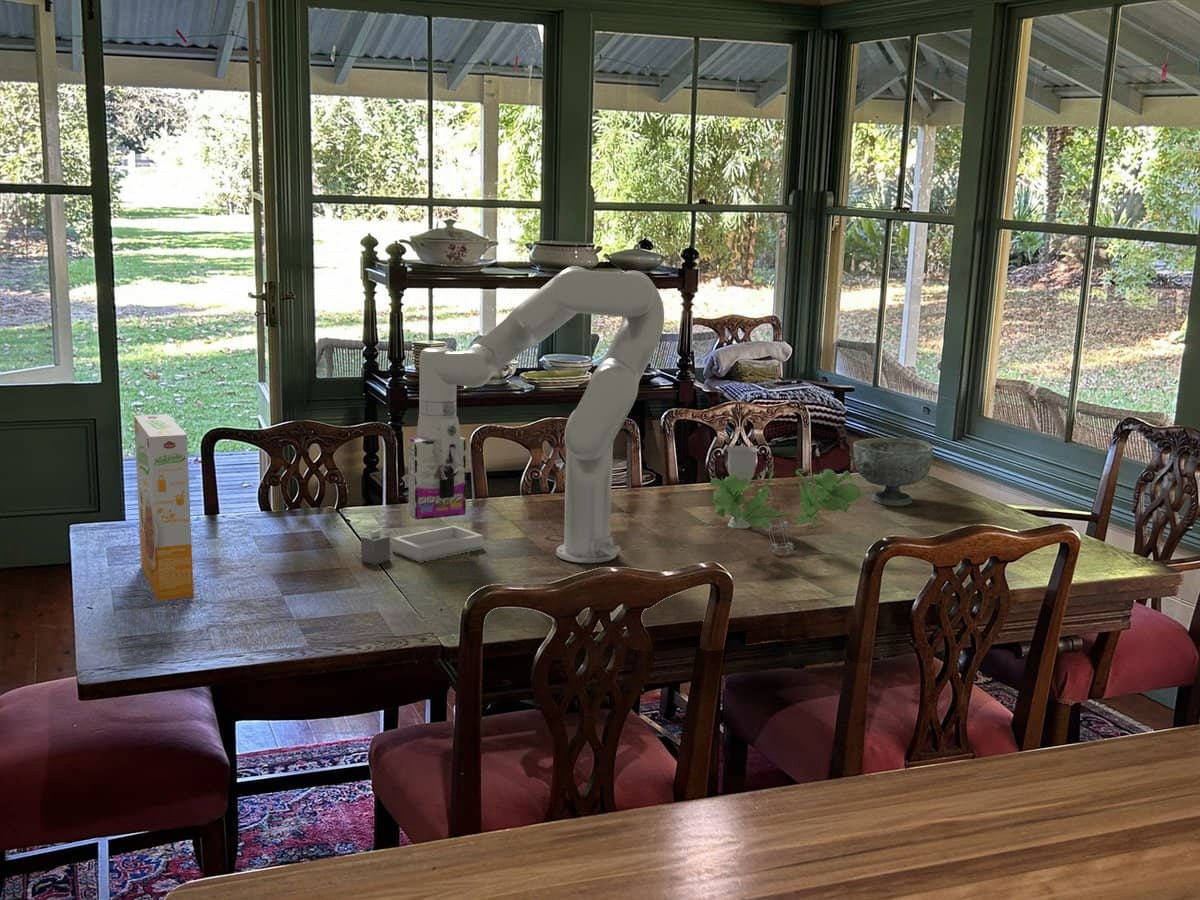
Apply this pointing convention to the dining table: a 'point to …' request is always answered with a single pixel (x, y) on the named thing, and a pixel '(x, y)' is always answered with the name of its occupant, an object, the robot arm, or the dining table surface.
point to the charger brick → (375, 548)
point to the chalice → (741, 471)
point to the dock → (437, 543)
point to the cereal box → (164, 505)
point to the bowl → (893, 465)
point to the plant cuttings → (753, 513)
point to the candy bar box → (433, 482)
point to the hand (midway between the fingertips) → (437, 493)
